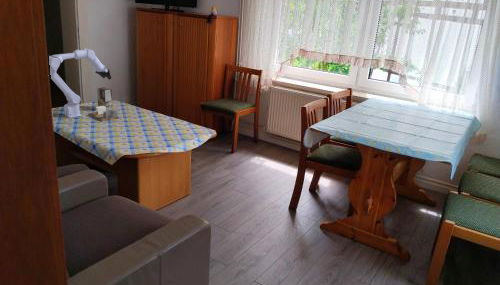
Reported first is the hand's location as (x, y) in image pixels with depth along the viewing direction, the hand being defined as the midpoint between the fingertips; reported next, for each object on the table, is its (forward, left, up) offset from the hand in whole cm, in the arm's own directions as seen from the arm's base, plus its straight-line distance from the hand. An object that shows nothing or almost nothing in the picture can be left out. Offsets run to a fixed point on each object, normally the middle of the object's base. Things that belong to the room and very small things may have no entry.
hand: (107, 78), depth 286 cm
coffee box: (0, +5, -25) cm, 26 cm away
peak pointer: (-17, -11, -23) cm, 31 cm away
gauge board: (-12, -12, -25) cm, 30 cm away
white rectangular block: (-13, -9, -23) cm, 28 cm away
